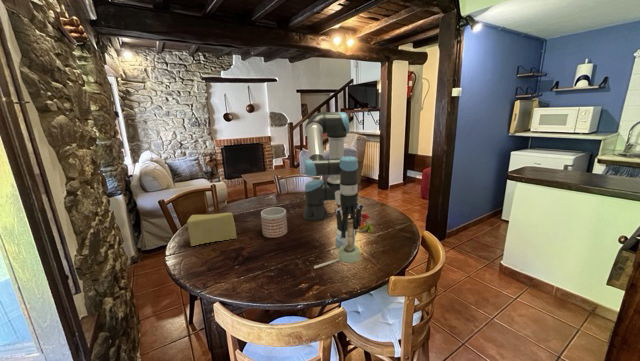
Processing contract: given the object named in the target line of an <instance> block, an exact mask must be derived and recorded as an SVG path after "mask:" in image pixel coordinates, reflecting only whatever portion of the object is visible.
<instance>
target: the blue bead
mask: <svg viewBox="0 0 640 361" xmlns="http://www.w3.org/2000/svg"><path fill="white" fill-rule="evenodd" d="M355 244H356V242H355V243H353V245H355ZM335 245H336V247H337V248H338V249H339V248H340V247H341V246H343V245H345V244H344V243H343V238H342V236H341V234H336V236H335ZM355 246H356V245H355Z"/></svg>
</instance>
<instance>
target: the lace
mask: <svg viewBox="0 0 640 361" xmlns="http://www.w3.org/2000/svg"><path fill="white" fill-rule="evenodd" d="M339 261H341V260H340V259H339V258H336V259H333V260H329V261H325V262H324V263H320V264H316V265H314V266H313V268H314V269H315V270H316V269H318V268H321V267H325V266H327V265H331V264H333V263H337V262H339Z"/></svg>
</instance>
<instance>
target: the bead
mask: <svg viewBox="0 0 640 361" xmlns="http://www.w3.org/2000/svg"><path fill="white" fill-rule="evenodd" d="M338 259H340V261H341V262H344V263H347V264H349V263H351V264H353V263H357V262H358V261H359V259H360V248H359V247H358V246H357V245H353V252H345V245H343V246H341V247H340V248H339V247H338Z"/></svg>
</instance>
